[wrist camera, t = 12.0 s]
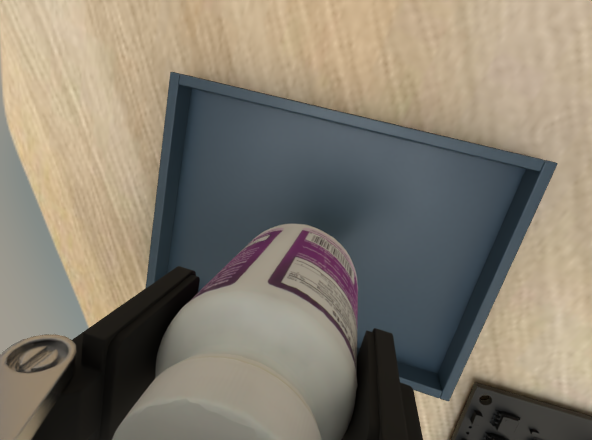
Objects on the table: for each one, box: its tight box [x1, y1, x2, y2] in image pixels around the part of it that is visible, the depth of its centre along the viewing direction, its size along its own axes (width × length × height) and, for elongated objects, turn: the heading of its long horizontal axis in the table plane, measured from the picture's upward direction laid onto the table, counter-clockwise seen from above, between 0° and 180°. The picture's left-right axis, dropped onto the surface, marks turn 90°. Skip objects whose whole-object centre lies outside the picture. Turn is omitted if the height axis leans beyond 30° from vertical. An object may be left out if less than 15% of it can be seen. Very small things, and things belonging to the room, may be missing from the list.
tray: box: [146, 72, 557, 401], centre depth 21 cm, size 21×15×2 cm
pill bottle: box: [112, 224, 358, 440], centre depth 11 cm, size 5×5×10 cm
